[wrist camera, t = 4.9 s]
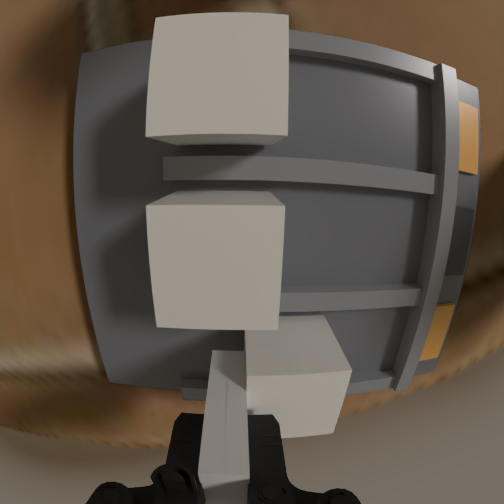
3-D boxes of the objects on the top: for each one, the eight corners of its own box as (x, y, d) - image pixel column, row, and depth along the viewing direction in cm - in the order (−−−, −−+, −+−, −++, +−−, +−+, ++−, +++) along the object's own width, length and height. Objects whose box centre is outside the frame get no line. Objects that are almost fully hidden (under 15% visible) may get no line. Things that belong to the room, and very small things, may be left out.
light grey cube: (180, 277, 14) (156, 327, 9) (177, 191, 12) (145, 205, 8) (266, 278, 14) (277, 329, 9) (269, 191, 13) (285, 205, 8)
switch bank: (118, 363, 18) (103, 393, 15) (97, 63, 12) (70, 47, 9) (421, 355, 19) (441, 380, 16) (458, 92, 13) (490, 86, 10)
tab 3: (243, 377, 15) (245, 439, 11) (244, 316, 14) (246, 375, 10) (313, 374, 16) (333, 433, 11) (323, 315, 14) (352, 370, 10)
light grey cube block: (177, 145, 12) (145, 136, 8) (181, 60, 11) (155, 17, 6) (270, 145, 12) (287, 135, 8) (272, 60, 11) (288, 15, 7)
